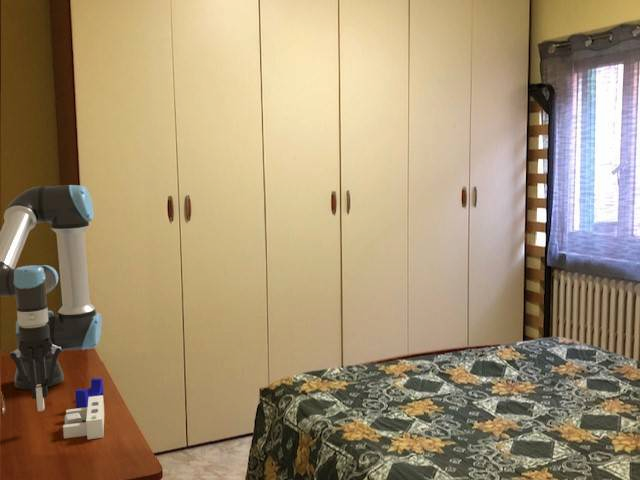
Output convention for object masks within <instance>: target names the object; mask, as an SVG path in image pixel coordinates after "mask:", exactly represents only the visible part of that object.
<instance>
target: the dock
mask: <svg viewBox="0 0 640 480" xmlns="http://www.w3.org/2000/svg"><path fill="white" fill-rule="evenodd" d="M65 411H66V412H65V415H68V414H73V413H79V414H80V416H81V418H82V423H74V424H66V425H65V424H63V426H62V431H63V439H71V438H78V437H85V436H86V438H87V440H93V439H100V438H101V439H103V438H104V434H105V433H104V429H105V428H104V427H105V404H104V397H103V395H101V396H93V397H89V398H88V407H85V408H70V409H66V410H65ZM83 421H84V422H83Z"/></svg>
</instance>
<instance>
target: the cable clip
mask: <svg viewBox="0 0 640 480" xmlns="http://www.w3.org/2000/svg"><path fill="white" fill-rule="evenodd" d="M103 379H104V378H102V377H100V378H98V377H96V378H95V377H93V378H92V379H90V383H91V384H90V387H88V388H87V389H76V390H75V404H76V406H75V407H76V408H75V409H77V408H85V407H88V398H89V397H93V396H101V395H103V398H104V397H105V395H104V382H103V381H104V380H103Z"/></svg>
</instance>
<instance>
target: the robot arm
mask: <svg viewBox="0 0 640 480" xmlns="http://www.w3.org/2000/svg"><path fill="white" fill-rule="evenodd" d="M89 191H90V190H88V188H87V187H86V186H84V185H78V184H77V185H76V184H68V185H67V184H66V185H64V184H63V185H45V186H44V185H42V186H33V187H31V188H29V189H26V190H24V191H23V192H21V193H20V194H18V195H17V196H16V197H14V198H13V199H12V201H10V202H9V204H8V206H7V207H6V209H5V211H4V214H3V220H4V223H3V224H2V228H1V229H0V297H15V302H16V304H15V305H16V315H17V319H16V321H15V336H16V346H17V348H16V349H15V350H12V351H10V354H9V357H10V358H11V359H12V360H13V362H14V363H15V366H16V371H15V374H14V378H13V379H14V380H13V381H14V383H13V384H14V387H15V388H17V389H20V390H31V397H32V399H33V400H35V399H36V407H37V412H43V411H45V399H46V398H48V394H49V393H48V388H49V387H53V386H56V385H59V384H60V383H62V382H63V381H64V371H63V369H62V367H61V365H60V362H59V360H58V357H59V355H60V354H61V352H62V351H77V350H81V351H84V350H89V349H90V350H91V349H95V348H96V347H97V346H98V345H99V342H100V340H101V337H102V336H101V335H102V328H103V327H102V326H103V319H102V314H101V313H99V312H96V306H94V305H93V304H92V303H91V299H90V298H91V297H90V287H89V285H90V284H89V274H88V273H89V272H88V271H89V269H88V260H87V248H86V246H87V245H86V234H85V232H86V230H87V229H88V228H89V226H90V223H89V222H92V221H93V220H94V217H95V213H94V211H95V210H94V204H93V200H92V196H91V193H90V192H89ZM40 223H42V224H43V223H44V224H45V223H48V224H49V223H50V230H52V231H53V232H55V234H56V240H57V241H56V243H57V254H58V255H57V256H58V266H59V274H58V272H57V271H56V269H55V268H54V267H53V266H51V265H48V264H47V265H46V264H43V265H35V264H34V265H23V266H19V267H17V268H16V266H17V264H18V261H19V259H20V257H21V253H22V251H23V249H24V246H25V243H26V241H27V238H28V236H29V233H30V231H31V230H32V229H34V228H35V227H36V224H40ZM59 278H60V279H59ZM59 280H60V290H61V291H60V292H61V302H62V306H61V307H60V308H59V310H58V311H57V313H58V315H57V314H56V315H54V314H55V313H54V312H53V310H49V309H48V308H49V307H48V301H47V300H48V299H47V294H49V293H50V292H52V291H53V290H55V288H56V286H57V285H58V282H59Z"/></svg>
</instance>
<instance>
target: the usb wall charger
mask: <svg viewBox="0 0 640 480" xmlns="http://www.w3.org/2000/svg"><path fill="white" fill-rule="evenodd" d="M82 422H83V421H82V418H81V416H80V414H79V413H73V414H68V415H66V414H65V415H64V425H66V424H74V423H82Z"/></svg>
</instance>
